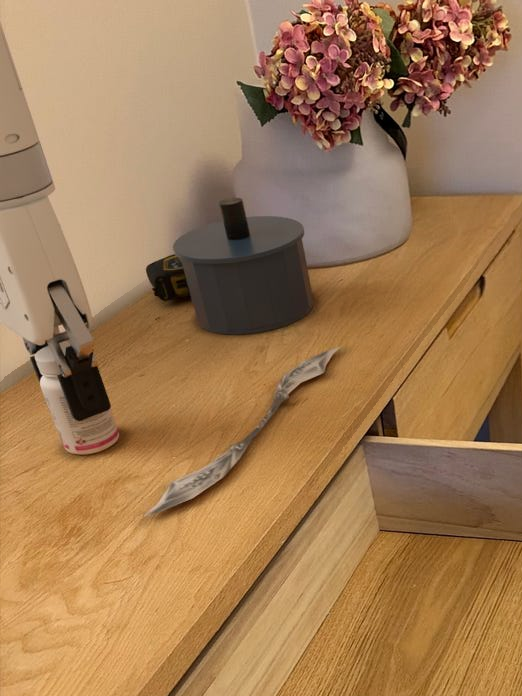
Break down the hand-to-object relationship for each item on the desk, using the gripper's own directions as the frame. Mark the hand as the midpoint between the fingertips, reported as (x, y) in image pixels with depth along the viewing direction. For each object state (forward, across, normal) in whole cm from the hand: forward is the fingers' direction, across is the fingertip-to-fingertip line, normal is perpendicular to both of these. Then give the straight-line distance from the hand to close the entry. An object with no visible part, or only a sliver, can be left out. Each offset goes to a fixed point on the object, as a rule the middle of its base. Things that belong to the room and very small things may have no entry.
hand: (78, 402), depth 84 cm
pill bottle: (+4, 0, 0) cm, 4 cm away
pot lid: (-4, -15, +26) cm, 30 cm away
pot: (+4, -15, +26) cm, 30 cm away
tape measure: (+4, -27, +23) cm, 36 cm away
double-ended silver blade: (+4, +9, +12) cm, 15 cm away
